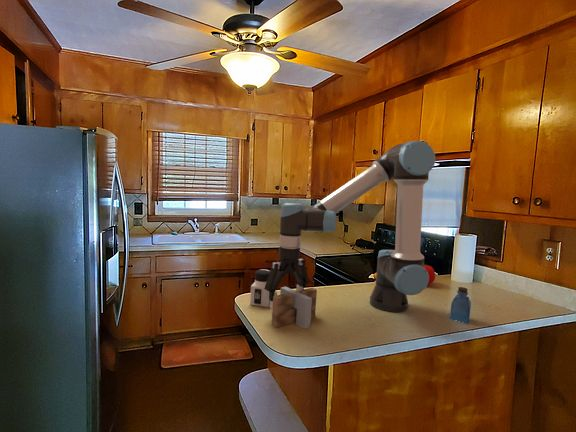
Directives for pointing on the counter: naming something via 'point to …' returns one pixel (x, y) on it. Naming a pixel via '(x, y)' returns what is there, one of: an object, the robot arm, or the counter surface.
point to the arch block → (300, 306)
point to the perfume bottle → (461, 306)
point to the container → (260, 289)
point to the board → (289, 307)
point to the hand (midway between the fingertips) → (286, 306)
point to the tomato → (430, 274)
